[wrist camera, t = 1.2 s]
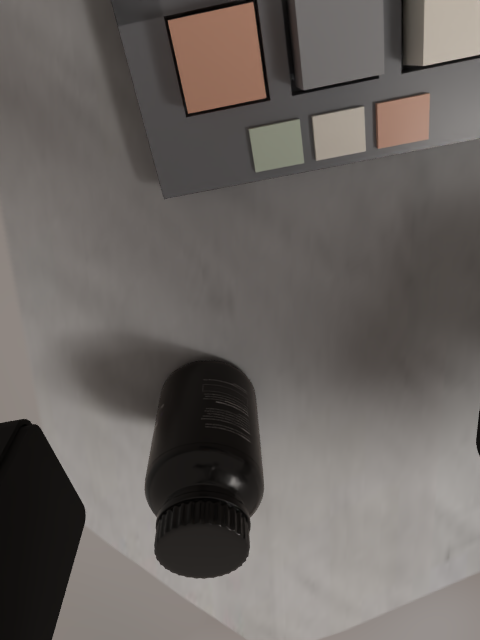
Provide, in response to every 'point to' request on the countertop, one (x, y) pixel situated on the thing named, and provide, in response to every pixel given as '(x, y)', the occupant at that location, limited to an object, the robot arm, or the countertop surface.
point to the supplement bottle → (205, 469)
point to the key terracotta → (218, 57)
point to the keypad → (296, 93)
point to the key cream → (440, 30)
